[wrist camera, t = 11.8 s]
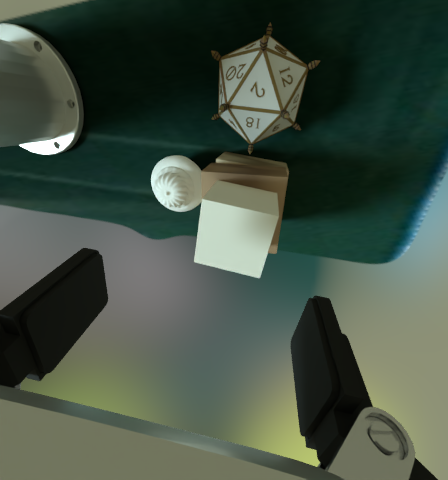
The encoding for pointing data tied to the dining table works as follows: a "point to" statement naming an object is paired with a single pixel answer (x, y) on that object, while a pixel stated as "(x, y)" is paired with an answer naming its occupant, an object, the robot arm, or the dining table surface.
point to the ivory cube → (236, 228)
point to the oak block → (248, 160)
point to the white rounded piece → (177, 183)
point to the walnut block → (250, 184)
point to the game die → (260, 88)
